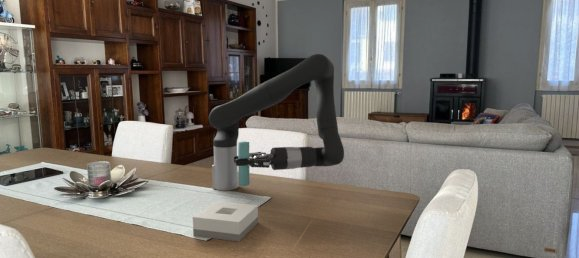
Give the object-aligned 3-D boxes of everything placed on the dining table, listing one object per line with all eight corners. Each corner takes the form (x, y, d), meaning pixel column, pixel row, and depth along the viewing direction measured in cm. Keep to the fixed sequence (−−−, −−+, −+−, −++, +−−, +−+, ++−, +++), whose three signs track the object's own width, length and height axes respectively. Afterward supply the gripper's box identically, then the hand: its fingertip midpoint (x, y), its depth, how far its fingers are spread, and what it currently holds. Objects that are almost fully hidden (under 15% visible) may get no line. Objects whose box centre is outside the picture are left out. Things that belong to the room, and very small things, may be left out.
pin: (236, 185, 127) (236, 143, 125) (241, 182, 130) (240, 141, 128) (246, 186, 126) (246, 143, 124) (251, 183, 129) (250, 141, 127)
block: (193, 235, 109) (192, 216, 108) (216, 218, 122) (216, 201, 121) (239, 241, 105) (238, 222, 104) (258, 222, 118) (257, 205, 117)
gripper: (280, 143, 137) (231, 145, 132) (292, 151, 123) (238, 154, 119) (280, 164, 138) (232, 167, 133) (291, 174, 124) (238, 177, 120)
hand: (235, 161), depth 126 cm, fingers closed on pin, 3 cm apart
